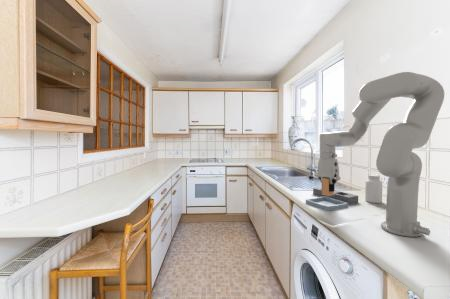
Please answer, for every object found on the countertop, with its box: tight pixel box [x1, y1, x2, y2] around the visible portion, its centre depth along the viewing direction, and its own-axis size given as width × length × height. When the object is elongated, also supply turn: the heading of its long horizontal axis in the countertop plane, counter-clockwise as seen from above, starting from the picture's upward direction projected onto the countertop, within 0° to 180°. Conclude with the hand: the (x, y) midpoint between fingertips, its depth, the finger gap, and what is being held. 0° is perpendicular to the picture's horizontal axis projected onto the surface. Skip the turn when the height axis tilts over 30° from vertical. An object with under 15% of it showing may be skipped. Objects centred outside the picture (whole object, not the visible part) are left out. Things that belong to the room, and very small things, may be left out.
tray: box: [305, 196, 349, 212], centre depth 117 cm, size 15×15×3 cm
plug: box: [321, 177, 334, 196], centre depth 115 cm, size 4×4×11 cm
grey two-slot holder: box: [312, 186, 359, 205], centre depth 129 cm, size 24×8×4 cm, turn 25°
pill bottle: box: [364, 174, 383, 204], centre depth 124 cm, size 8×8×15 cm
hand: (328, 190), depth 115 cm, fingers closed on plug, 4 cm apart
